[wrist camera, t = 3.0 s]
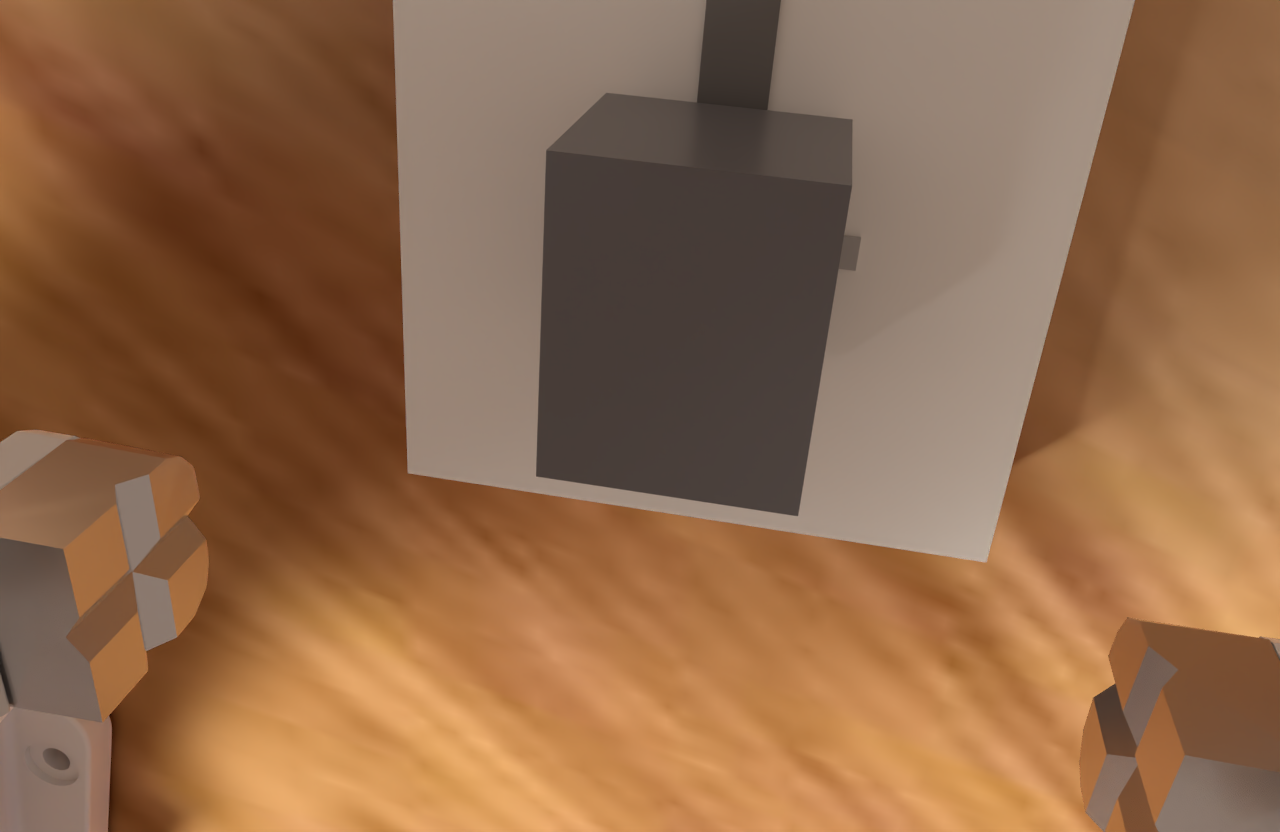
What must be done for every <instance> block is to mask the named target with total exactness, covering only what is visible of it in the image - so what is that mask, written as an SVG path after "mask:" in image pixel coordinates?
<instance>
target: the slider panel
mask: <svg viewBox="0 0 1280 832" xmlns="http://www.w3.org/2000/svg"><path fill="white" fill-rule="evenodd" d="M1134 2H1135V0H393V21H394V53H395V85H396V116H397V148H398V180H399V212H400V244H401V275H402V307H403V339H404V371H405V402H406V434H407V466H408V473H409V474H416V475H422V476H429V477H435V478H442V479H448V480H455V481H461V482H468V483H474V484H481V485H487V486H494V487H500V488H507V489H513V490H520V491H526V492H533V493H539V494H546V495H552V496H559V497H565V498H572V499H578V500H585V501H591V502H598V503H604V504H610V505H617V506H623V507H630V508H636V509H643V510H649V511H656V512H662V513H669V514H675V515H682V516H688V517H695V518H701V519H708V520H714V521H721V522H727V523H734V524H740V525H747V526H753V527H760V528H766V529H773V530H779V531H786V532H792V533H799V534H805V535H812V536H818V537H825V538H831V539H838V540H844V541H850V542H857V543H863V544H870V545H876V546H883V547H889V548H896V549H902V550H909V551H915V552H922V553H928V554H935V555H941V556H948V557H954V558H961V559H967V560H974V561H980V562H987V558H988V555H989V551H990V547H991V543H992V540H993V536H994V532H995V528H996V524H997V521H998V517H999V513H1000V509H1001V505H1002V502H1003V498H1004V494H1005V490H1006V487H1007V483H1008V479H1009V475H1010V471H1011V468H1012V464H1013V460H1014V456H1015V452H1016V449H1017V445H1018V441H1019V437H1020V434H1021V430H1022V426H1023V422H1024V418H1025V415H1026V411H1027V407H1028V403H1029V400H1030V396H1031V392H1032V388H1033V384H1034V381H1035V377H1036V373H1037V369H1038V365H1039V362H1040V358H1041V354H1042V350H1043V347H1044V343H1045V339H1046V335H1047V331H1048V328H1049V324H1050V320H1051V316H1052V312H1053V309H1054V305H1055V301H1056V297H1057V294H1058V290H1059V286H1060V282H1061V278H1062V275H1063V271H1064V267H1065V263H1066V260H1067V256H1068V252H1069V248H1070V244H1071V241H1072V237H1073V233H1074V229H1075V225H1076V222H1077V218H1078V214H1079V210H1080V207H1081V203H1082V199H1083V195H1084V191H1085V188H1086V184H1087V180H1088V176H1089V172H1090V169H1091V165H1092V161H1093V157H1094V154H1095V150H1096V146H1097V142H1098V138H1099V135H1100V131H1101V127H1102V123H1103V120H1104V116H1105V112H1106V108H1107V104H1108V101H1109V97H1110V93H1111V89H1112V85H1113V82H1114V78H1115V74H1116V70H1117V67H1118V63H1119V59H1120V55H1121V51H1122V48H1123V44H1124V40H1125V36H1126V32H1127V29H1128V25H1129V21H1130V17H1131V14H1132V10H1133V6H1134ZM605 93H614V94H623V95H632V96H641V97H650V98H660V99H669V100H678V101H687V102H696V103H706V104H715V105H724V106H733V107H742V108H752V109H761V110H770V111H779V112H788V113H798V114H807V115H816V116H825V117H834V118H844V119H853V126H852V190H851V196H850V202H849V208H848V215H847V221H846V227H845V233H844V239H843V245H842V251H841V257H840V263H839V270H838V276H837V282H836V288H835V294H834V300H833V306H832V312H831V318H830V325H829V331H828V337H827V343H826V349H825V355H824V361H823V367H822V373H821V380H820V386H819V392H818V398H817V404H816V410H815V416H814V422H813V428H812V435H811V441H810V447H809V453H808V459H807V465H806V471H805V477H804V483H803V489H802V496H801V502H800V508H799V514H798V516H792V515H786V514H779V513H772V512H766V511H759V510H753V509H746V508H740V507H733V506H727V505H720V504H713V503H707V502H700V501H694V500H687V499H681V498H674V497H667V496H661V495H654V494H648V493H641V492H635V491H628V490H621V489H615V488H608V487H602V486H595V485H589V484H582V483H576V482H569V481H562V480H556V479H549V478H543V477H536V457H537V426H538V394H539V362H540V331H541V299H542V267H543V235H544V204H545V172H546V150H547V149H548V148H549V147H550V146H551V145H552V144H553V143H554V142H555V141H556V140H557V139H558V138H560V137H561V136H562V135H563V134H564V133H565V132H566V131H567V130H568V129H569V128H570V127H571V126H572V125H573V124H574V123H575V122H576V121H577V120H578V119H579V118H580V117H581V116H582V115H584V114H585V113H586V112H587V111H588V110H589V109H590V108H591V107H592V106H593V105H594V104H595V103H596V102H597V101H598V100H599V99H600V98H601V97H602V96H603V95H604V94H605Z"/></svg>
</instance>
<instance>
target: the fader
mask: <svg viewBox="0 0 1280 832" xmlns="http://www.w3.org/2000/svg"><path fill="white" fill-rule="evenodd" d="M852 126H853V119H844V118H834V117H825V116H816V115H807V114H798V113H788V112H779V111H770V110H761V109H752V108H742V107H733V106H724V105H715V104H706V103H696V102H687V101H678V100H669V99H660V98H650V97H641V96H632V95H623V94H614V93H605V94H604V95H603V96H602V97H601V98H600V99H599V100H598V101H597V102H596V103H595V104H594V105H593V106H592V107H591V108H590V109H589V110H588V111H587V112H586V113H585V114H584V115H582V116H581V117H580V118H579V119H578V120H577V121H576V122H575V123H574V124H573V125H572V126H571V127H570V128H569V129H568V130H567V131H566V132H565V133H564V134H563V135H562V136H561V137H560V138H558V139H557V140H556V141H555V142H554V143H553V144H552V145H551V146H550V147H549V148H548V149H547V150H546V172H545V204H544V235H543V267H542V299H541V331H540V362H539V394H538V426H537V457H536V477H543V478H549V479H556V480H562V481H569V482H576V483H582V484H589V485H595V486H602V487H608V488H615V489H621V490H628V491H635V492H641V493H648V494H654V495H661V496H667V497H674V498H681V499H687V500H694V501H700V502H707V503H713V504H720V505H727V506H733V507H740V508H746V509H753V510H759V511H766V512H772V513H779V514H786V515H792V516H798V514H799V508H800V502H801V496H802V489H803V483H804V477H805V471H806V465H807V459H808V453H809V447H810V441H811V435H812V428H813V422H814V416H815V410H816V404H817V398H818V392H819V386H820V380H821V373H822V367H823V361H824V355H825V349H826V343H827V337H828V331H829V325H830V318H831V312H832V306H833V300H834V294H835V288H836V282H837V276H838V270H839V263H840V257H841V251H842V245H843V239H844V233H845V227H846V221H847V215H848V208H849V202H850V196H851V190H852Z"/></svg>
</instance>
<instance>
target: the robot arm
mask: <svg viewBox="0 0 1280 832" xmlns="http://www.w3.org/2000/svg"><path fill="white" fill-rule="evenodd" d="M199 499H200V494H199V489H198V484H197V479H196V474H195V469H194V467H193V466H192V465H191V464H190V463H189V462H188V461H186V460H185V459H184V458H183V457H182V456H177V455H172V454H167V453H162V452H157V451H151V450H146V449H141V448H136V447H130V446H125V445H120V444H115V443H110V442H104V441H99V440H94V439H89V438H79V437H76V436H73V435H67V434H61V433H54V432H48V431H42V430H36V429H35V430H22V431H16V432H15V433H13V434H12V435H10V436H9V437H7V438H6V439H4V440H3V441H1V442H0V832H108V817H109V793H110V769H111V745H112V724H111V720H110V717H109V715H110V714H111V713H112V712H113V710H114V709H115V708H116V707H117V706H118V705H119V704H120V702H121V701H122V700H123V699H124V698H125V697H126V696H127V694H128V693H129V692H130V691H131V690H132V689H133V688H134V686H135V685H136V684H137V683H138V682H139V681H140V680H141V678H142V677H143V676H144V675H145V674H146V673H147V672H148V661H147V651H148V650H150V649H152V648H154V647H157V646H159V645H161V644H163V643H166V642H168V641H170V640H172V639H175V638H177V637H178V636H179V635H180V633H181V632H182V631H183V630H184V628H185V627H186V626H187V625H188V624H189V622H190V621H191V620H192V619H193V617H194V616H195V614H196V612H197V609H198V607H199V604H200V602H201V600H202V597H203V595H204V592H205V590H206V587H207V579H208V569H209V556H208V548H207V541H206V538H205V537H204V536H203V534H202V533H201V532H200V531H199V529H198V528H197V527H196V526H195V524H194V523H193V522H192V521H191V519H190V518H189V517H188V515H189V513H190V512H191V510H192V509H193V508H194V506H195V505H196V504H197V502H198V501H199ZM1108 657H1109V661H1110V665H1111V668H1112V672H1113V676H1114V680H1115V683H1116V684H1114V685H1112V686H1111V687H1109V688H1108V689H1106V690H1105V691H1103V692H1102V693H1100V694H1098V695H1097V696H1095V697H1094V698H1093V700H1092V704H1091V707H1090V710H1089V713H1088V716H1087V719H1086V723H1085V726H1084V729H1083V736H1082V744H1081V752H1080V760H1079V765H1080V784H1081V792H1082V797H1083V802H1084V807H1085V812H1086V813H1087V814H1088V815H1089V816H1090V818H1091V819H1092V820H1093V821H1094V822H1095V823H1096V824H1097V825H1098V826H1099V827H1100V828H1101V829H1102V830H1103V831H1104V832H1280V639H1274V638H1267V637H1259V638H1256V637H1250V636H1244V635H1237V634H1231V633H1224V632H1218V631H1212V630H1205V629H1199V628H1192V627H1186V626H1180V625H1173V624H1167V623H1161V622H1154V621H1148V620H1141V619H1135V618H1129V617H1127V619H1126V620H1125V622H1124V623H1123V624H1122V626H1121V627H1120V629H1119V630H1118V632H1117V634H1116V637H1115V639H1114V642H1113V645H1112V647H1111V650H1110V653H1109V655H1108Z"/></svg>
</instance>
